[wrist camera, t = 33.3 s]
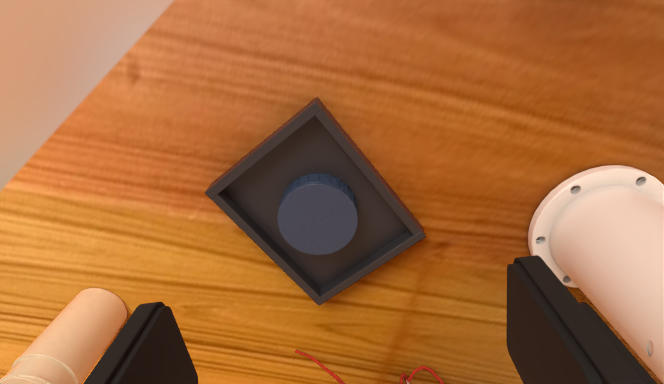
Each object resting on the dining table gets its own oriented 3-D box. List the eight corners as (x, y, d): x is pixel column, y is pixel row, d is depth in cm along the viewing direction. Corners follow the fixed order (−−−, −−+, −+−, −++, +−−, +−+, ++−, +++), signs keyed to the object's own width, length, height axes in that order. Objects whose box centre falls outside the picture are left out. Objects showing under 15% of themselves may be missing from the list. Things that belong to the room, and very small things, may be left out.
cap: (287, 244, 39) (283, 259, 37) (274, 176, 36) (270, 187, 34) (360, 238, 38) (361, 252, 36) (353, 168, 36) (354, 179, 33)
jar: (138, 312, 43) (75, 405, 33) (104, 337, 45) (35, 434, 34) (95, 278, 41) (16, 365, 31) (62, 305, 43) (-24, 397, 33)
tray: (421, 225, 38) (426, 237, 37) (319, 292, 42) (319, 306, 40) (317, 96, 34) (315, 101, 32) (211, 183, 37) (204, 193, 35)
